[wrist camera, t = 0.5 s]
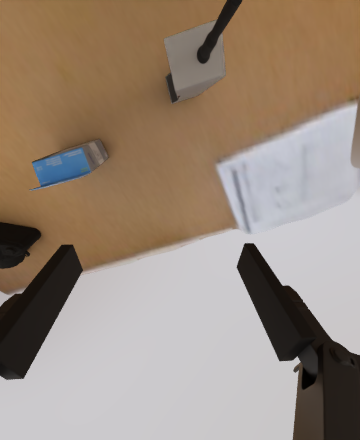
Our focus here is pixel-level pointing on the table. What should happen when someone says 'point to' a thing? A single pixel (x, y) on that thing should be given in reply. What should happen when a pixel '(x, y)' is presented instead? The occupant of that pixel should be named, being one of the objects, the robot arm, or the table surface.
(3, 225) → the film camera
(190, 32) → the vintage mobile phone
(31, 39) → the table surface
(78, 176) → the label tape box
